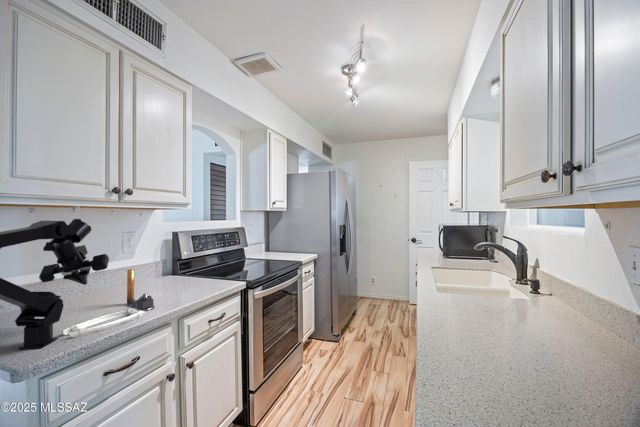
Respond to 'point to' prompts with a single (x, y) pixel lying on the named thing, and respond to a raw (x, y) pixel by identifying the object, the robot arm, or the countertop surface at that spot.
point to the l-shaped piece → (130, 293)
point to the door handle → (81, 330)
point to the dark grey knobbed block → (145, 308)
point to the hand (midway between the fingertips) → (85, 283)
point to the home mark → (131, 305)
